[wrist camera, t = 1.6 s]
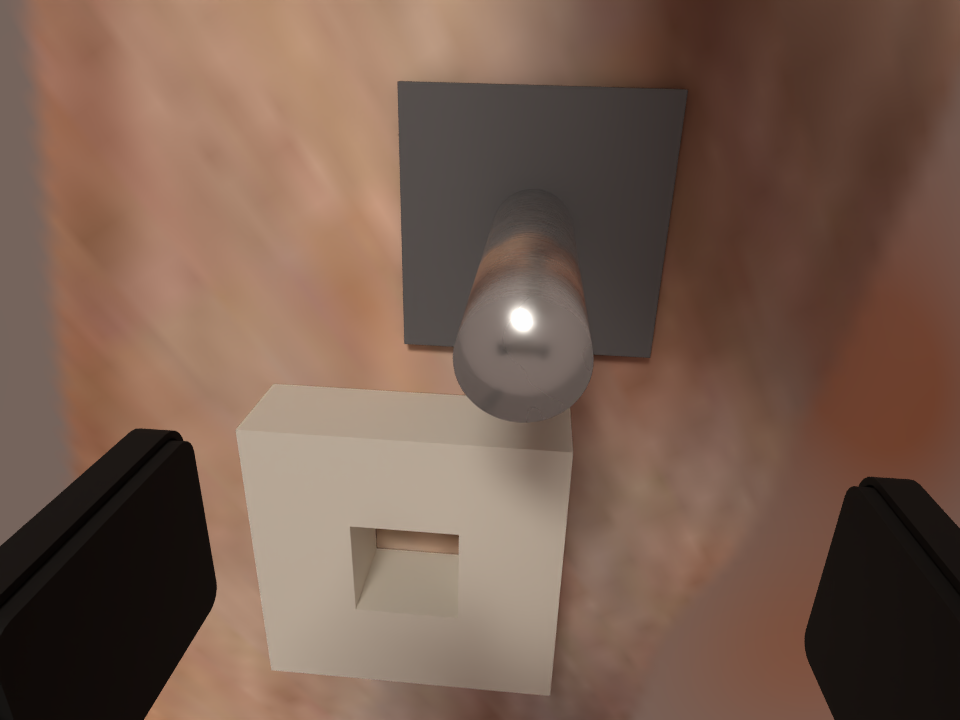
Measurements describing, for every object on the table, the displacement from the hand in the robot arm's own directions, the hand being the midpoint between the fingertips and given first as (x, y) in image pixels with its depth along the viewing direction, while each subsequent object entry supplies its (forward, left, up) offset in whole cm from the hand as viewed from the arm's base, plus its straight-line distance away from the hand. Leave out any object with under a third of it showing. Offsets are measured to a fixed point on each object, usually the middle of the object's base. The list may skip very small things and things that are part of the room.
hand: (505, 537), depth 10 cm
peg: (0, 0, -17) cm, 17 cm away
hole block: (+14, -4, -18) cm, 23 cm away
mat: (0, 0, -18) cm, 18 cm away
